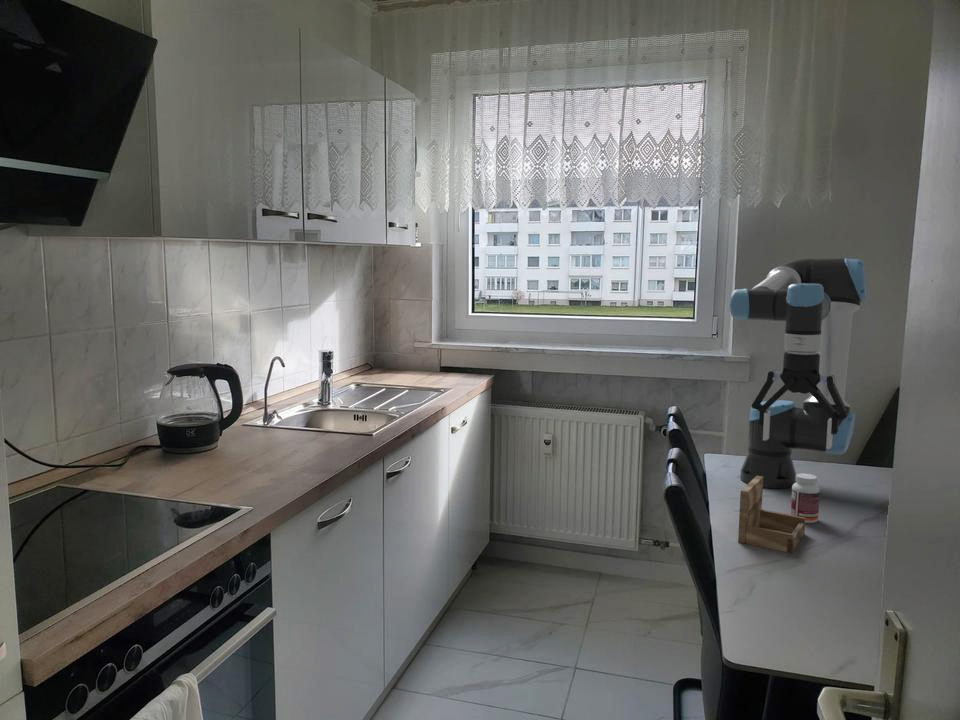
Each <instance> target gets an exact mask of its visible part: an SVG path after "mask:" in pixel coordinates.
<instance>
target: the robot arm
mask: <svg viewBox="0 0 960 720" xmlns="http://www.w3.org/2000/svg"><path fill="white" fill-rule="evenodd" d="M866 272H867V271H866V266H865V263H864V262H863V260H862V259H858V258H846V257H844V258H801V259H796V260H792V261H789V262H786V263H783V264H781V265H778V266H776V267H775V268H773V269H772V270H770V271H769V273H768V274H767V275H766V276H765V279H763V280H762V281H761V282H760V283H758V284H756V285H755V286H754V287H752V288H751V289H750V288H746V287H745V288H738V289H735V290H733V291H732V293H731V296H730V300H729V301H730V302H729V311H730V315H731V317H732V318H733V319H737V320H744V321H749V320H750V321H776V322H785V330H784V346H783V349H784V350H785V351H786V352H784V353H783V359H782V360H783V362H782V364H783V365H782V371H781V372H779V371H777V370H774V369H772V370H770V371H768V372H767V377H766V381H765V382H764V384H763V386H762V387H761V389H760V391H759V392H758V394H757V396H756V397H755V399H754V401H753V402H752V404H751V407H750V410H749V411H750V412H749V418H748V421H749V422H748V423H749V424H748V445H747V446H748V447H747V454H746V456H745V459H744V460H743V461H744V462H743V464H742V466H741V469H740V476H739V479H740V480H741V481H742V482H744V483H746V484H748V483H749V482H750V481H752V480H753V479H754V478H755V477H756V476H762V477H763V488H765V489H767V488H768V489H788V488H792V486H793V484H794V483H796V482H797V481H796V475H797V471H796V469H795V465H794V462H793V461H794V460H793V458H792V455H793V454H792V449H793V450H800V451H806V452H807V451H808V452H815V453H822V454H825V455H826V454H827V455H828V454H831V455H832V454H833V455H842V454H843V455H844V453H846V451H847V450H848V448H849V446H850V443H851V440H852V436H853V433H854V429H855V422H856V414H855V413H853V412H851V411H850V410H851V405H849V403H848V402H847V401H846V400H845V396H846V388H847V377H848V368H849V367H848V366H849V356H850V347H851V346H850V345H851V334H852V327H853V325H852V324H853V315H854V313H856V312H857V311H858V310H859V309H860V308H861V302H862V303H863V302H866V301H867V300H868V286H867V285H868V284H867V282H868V281H867V273H866ZM779 378H780V379H781V381H782V383H783V384H784V385H782V386H781V387H780V388H779V390H777V391H776V393H774V394H773V395H772V396H770V398H769V399H768V400H765V401H764V398H765V397H766V395H767V394H768V392H769V390H770V389H771V387H772V386H773V384H774V382H775V381H777V380H778V379H779ZM787 391H789V392H791V393H794V394H795V393H800V394H804V395H806V394H809V397H807V398H806V399H805V400H803V404H802V405H803V406H802V407H796V404H795V402H794V401H792V400H785V399H784V400H781V399H780V398H781V397H782V396H783V395H784V394H785V393H786V392H787ZM779 399H780V400H779Z"/></svg>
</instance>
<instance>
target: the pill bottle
mask: <svg viewBox="0 0 960 720" xmlns="http://www.w3.org/2000/svg"><path fill="white" fill-rule="evenodd" d="M796 481H797V482H796V483H794V484H793V486H792V487H791V499H790V500H791V501H790V502H791V503H790V515H795V516H800V517H805V524H815V523H817V522H818V521H819V508H820V493H821V492H820V486H818V485H817V482H818V476H817V475H814V474H810V473H796Z"/></svg>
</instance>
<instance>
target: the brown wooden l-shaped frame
mask: <svg viewBox="0 0 960 720" xmlns="http://www.w3.org/2000/svg"><path fill="white" fill-rule="evenodd" d="M763 490H764V487H763V477H762V476H756V477H755V478H754V479H753V480H752V481H750V482H749V483H746V485H745V486H744V487H743V488H742V489H740V495H739V499H740V500H739V515H738V517H739V518H738V519H739V520H738V537H737V542H738V543H740V544H747V545H752V546H756V547H761V548H765V549H766V548H767V549H769V550H770V549H771V550H775V551H780V552H784V553H789V554H793V552H794V550H795V549H796V547H797V546H798V545H799V543H800V542H801V540H802V538H803V537H804V536H805V531H806V523H805V517H800V516H795V515H791V514H788V513H783V512H777V511H772V510H766V509H762V508H763V507H762V506H763V492H764V491H763Z"/></svg>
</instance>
